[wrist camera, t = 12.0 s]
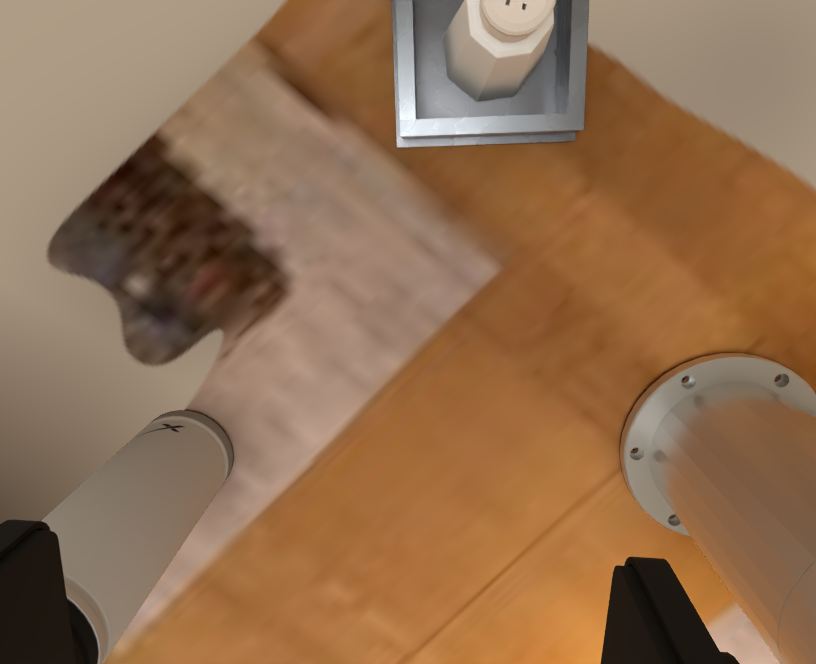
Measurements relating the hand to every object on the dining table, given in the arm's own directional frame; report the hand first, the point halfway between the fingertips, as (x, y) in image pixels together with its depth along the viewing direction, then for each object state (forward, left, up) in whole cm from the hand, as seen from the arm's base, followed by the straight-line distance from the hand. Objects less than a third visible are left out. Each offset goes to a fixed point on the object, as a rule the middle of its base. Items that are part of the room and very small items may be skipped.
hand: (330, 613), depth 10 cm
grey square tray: (-5, -13, -28) cm, 31 cm away
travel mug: (+15, +11, -28) cm, 33 cm away
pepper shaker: (-5, -13, -27) cm, 31 cm away
